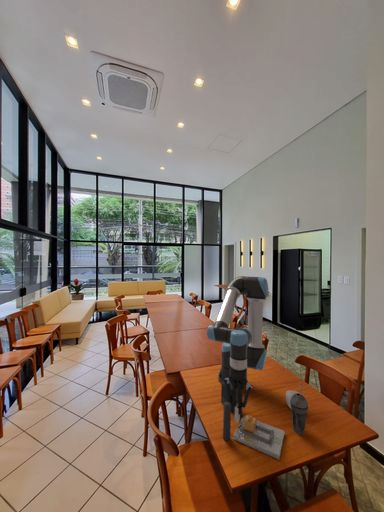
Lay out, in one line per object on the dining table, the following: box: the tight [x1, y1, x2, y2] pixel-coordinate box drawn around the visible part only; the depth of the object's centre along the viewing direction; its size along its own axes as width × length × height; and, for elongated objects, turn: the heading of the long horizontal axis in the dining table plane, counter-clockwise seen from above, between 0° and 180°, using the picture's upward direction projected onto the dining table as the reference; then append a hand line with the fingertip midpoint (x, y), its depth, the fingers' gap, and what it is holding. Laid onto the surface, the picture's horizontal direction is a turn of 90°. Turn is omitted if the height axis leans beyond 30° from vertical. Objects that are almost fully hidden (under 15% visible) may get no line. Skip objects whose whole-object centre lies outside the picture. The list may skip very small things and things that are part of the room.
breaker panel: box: [232, 415, 285, 460], centre depth 93 cm, size 18×14×3 cm
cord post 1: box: [222, 402, 232, 442], centre depth 92 cm, size 3×3×14 cm
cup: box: [285, 390, 300, 410], centre depth 114 cm, size 8×10×7 cm
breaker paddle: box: [244, 414, 257, 433], centre depth 96 cm, size 4×4×5 cm
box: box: [220, 381, 233, 411], centre depth 114 cm, size 8×6×11 cm
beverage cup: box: [290, 384, 309, 435], centre depth 98 cm, size 7×7×20 cm
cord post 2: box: [237, 389, 243, 419], centre depth 106 cm, size 3×3×14 cm
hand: (237, 420), depth 98 cm, fingers closed
